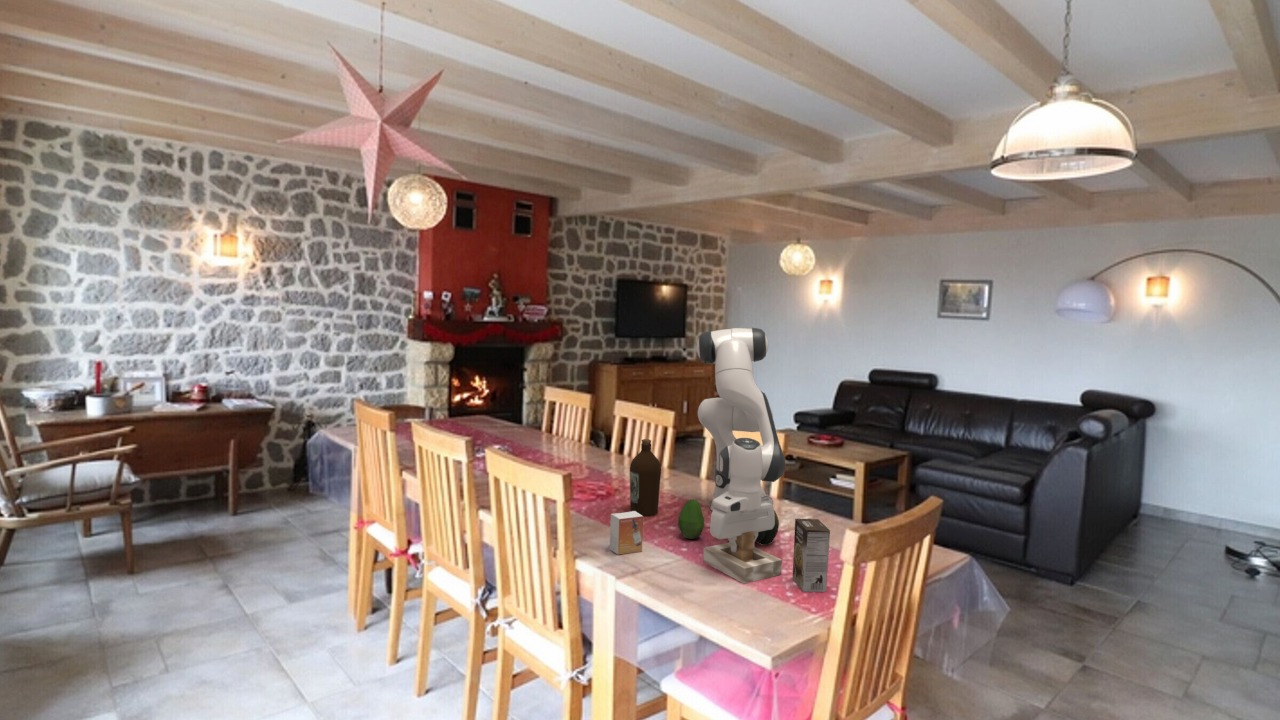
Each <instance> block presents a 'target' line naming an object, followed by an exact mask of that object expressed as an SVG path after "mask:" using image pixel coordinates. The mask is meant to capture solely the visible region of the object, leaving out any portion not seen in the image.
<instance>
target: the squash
mask: <svg viewBox="0 0 1280 720" xmlns="http://www.w3.org/2000/svg"><path fill="white" fill-rule="evenodd" d="M774 515H775V525H774V527H773V529H771V530H766V531H761V532H758V537H757V538H756V540H755V542H754V543H758V544H759V545H762V546H768V545H771V544H772V542H773V541H774V540H775V538H776V536H777V534H778V532H779V528H780V527H779V525H780V522H779V521H780V520H779V517H778V514H777V512H776V511H775V509H774Z"/></svg>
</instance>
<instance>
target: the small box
mask: <svg viewBox="0 0 1280 720" xmlns="http://www.w3.org/2000/svg"><path fill="white" fill-rule="evenodd" d="M609 523H610V526H609V527H610V528H609V531H610V532H609V550H610V551H612V552H613V553H614V554H616V555H618V556H619V555H625V554H633V553H641V552H642V551H643V535H644V517H643V516H642V515H641V514H639V513H637V512H636V511H632V512H630V511H626V512H615V513H610V522H609Z"/></svg>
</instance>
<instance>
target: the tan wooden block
mask: <svg viewBox="0 0 1280 720" xmlns="http://www.w3.org/2000/svg"><path fill="white" fill-rule="evenodd" d="M753 540H754V531H751V532H746V533H742V535H740V536H737V540H735V542H736V544H737V545H739V551H737V552H733V551H732V556H734V557H736V558H738V559H740V560H742V561H744V562H751V561H755V560H753Z"/></svg>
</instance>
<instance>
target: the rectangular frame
mask: <svg viewBox="0 0 1280 720" xmlns="http://www.w3.org/2000/svg"><path fill="white" fill-rule="evenodd" d="M753 560H755V561H751V562H744V561H742V560H740V559H738V558H736V557H734V556H732V551H731V544H730V542H725V543H720V544H716V545H710V546H706V547H704V548H703V561H702V562H703V563H705V564H707V565H709V566H710V567H712V568H714V569H716V570H718V571H719V572H721V573H724V574H725V575H727V576H729V577H731V578H733V579H734V580H736V581H738V582H740V583H741V584H748V583H751V582H752V583H753V582H757V581H761V580H764V579H769V578H772V577H777V576H781V575H782V571H783V570H782V568H783V567H782V565H783V560H782V559H781V558H779V557H777V556H775V555H772V553H771V554H770V553H768V552H767V551H764V550H761V549H759V548H758V547H755V546H754V548H753Z"/></svg>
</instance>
